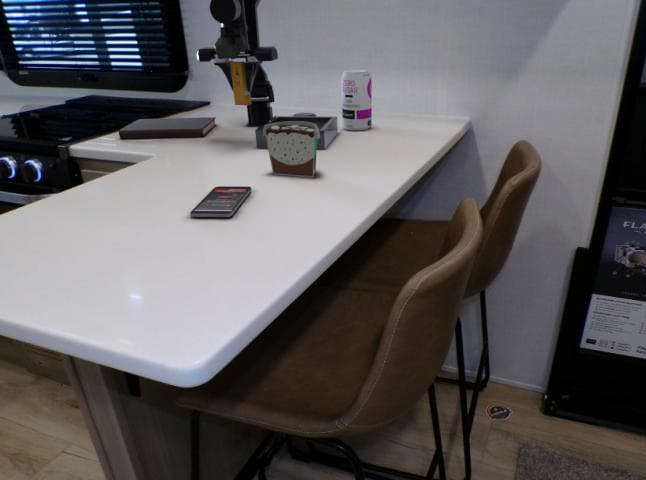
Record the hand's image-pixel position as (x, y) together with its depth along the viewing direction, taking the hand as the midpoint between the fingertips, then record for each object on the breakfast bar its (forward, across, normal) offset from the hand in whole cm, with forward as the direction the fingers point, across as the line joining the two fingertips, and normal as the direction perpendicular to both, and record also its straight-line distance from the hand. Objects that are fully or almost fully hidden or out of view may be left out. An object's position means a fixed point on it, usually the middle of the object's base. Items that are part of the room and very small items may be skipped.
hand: (242, 91), depth 132 cm
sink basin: (+12, +14, +2) cm, 18 cm away
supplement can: (+12, +27, +18) cm, 34 cm away
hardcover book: (+12, -26, +10) cm, 31 cm away
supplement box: (+3, 0, 0) cm, 3 cm away
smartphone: (+12, +11, -47) cm, 50 cm away
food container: (+12, +20, -26) cm, 36 cm away
